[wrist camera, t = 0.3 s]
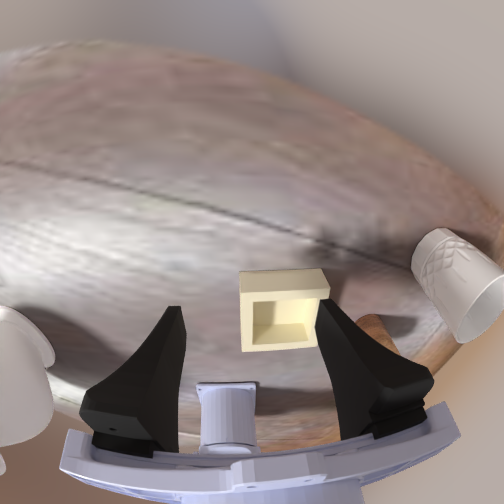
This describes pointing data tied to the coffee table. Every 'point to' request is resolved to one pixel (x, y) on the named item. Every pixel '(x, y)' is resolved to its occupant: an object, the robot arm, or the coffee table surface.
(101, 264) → the coffee table surface
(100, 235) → the coffee table surface
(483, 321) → the white cup
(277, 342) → the cream square tray
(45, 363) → the decorative vase
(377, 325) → the brown cylinder
